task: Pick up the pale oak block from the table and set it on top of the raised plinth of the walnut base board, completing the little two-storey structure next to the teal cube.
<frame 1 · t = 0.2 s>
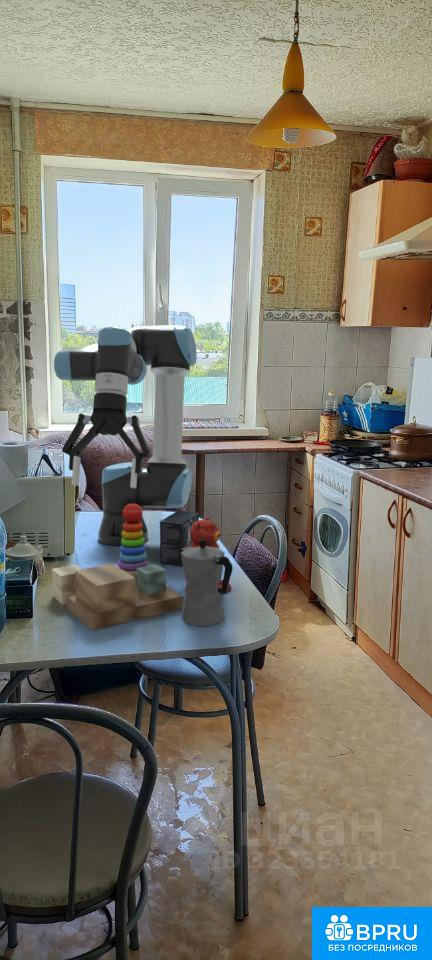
hand: (103, 486, 158), 27 cm above the table, tool tilted 20°, fingers open, 13 cm apart
base: (124, 608, 158), on the table
oak block: (70, 598, 164), on the table
stacking bear: (205, 592, 168), on the table
coffeepot: (206, 620, 151), on the table
small box: (180, 558, 194), on the table
stacking toy: (133, 574, 181), on the table
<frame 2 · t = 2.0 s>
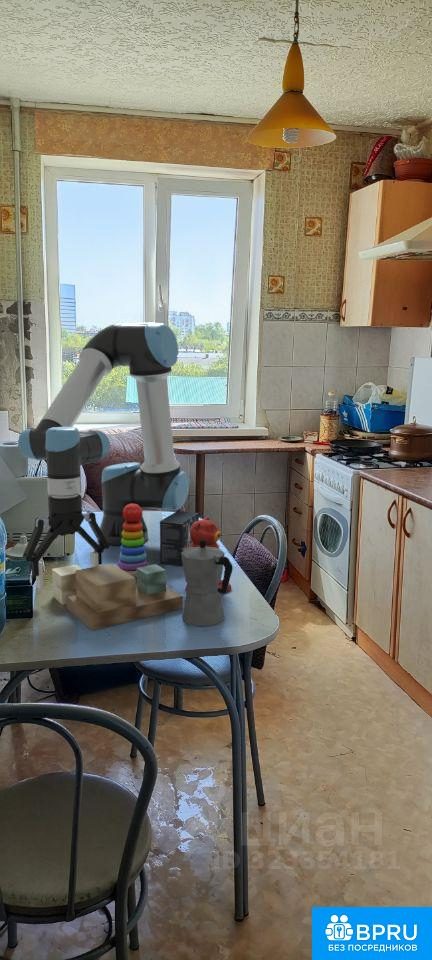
hand: (68, 583, 163), 4 cm above the table, tool pointing down, fingers open, 13 cm apart
nothing on the table moved.
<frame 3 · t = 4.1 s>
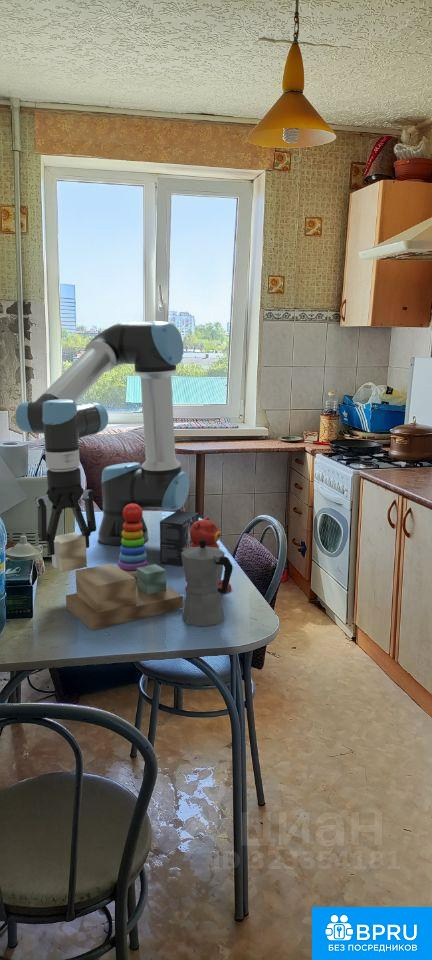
hand: (69, 564, 163), 8 cm above the table, tool pointing down, fingers closed on oak block, 6 cm apart
oak block: (70, 565, 163), point 8 cm above the table, touching gripper
everything else where it was.
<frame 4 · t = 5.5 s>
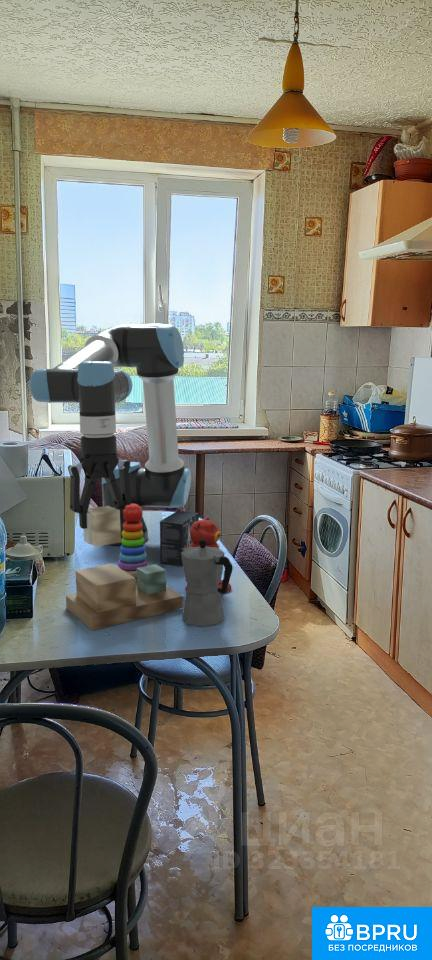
hand: (102, 539, 152), 17 cm above the table, tool pointing down, fingers closed on oak block, 6 cm apart
oak block: (102, 541, 152), point 17 cm above the table, touching gripper
everything else where it was.
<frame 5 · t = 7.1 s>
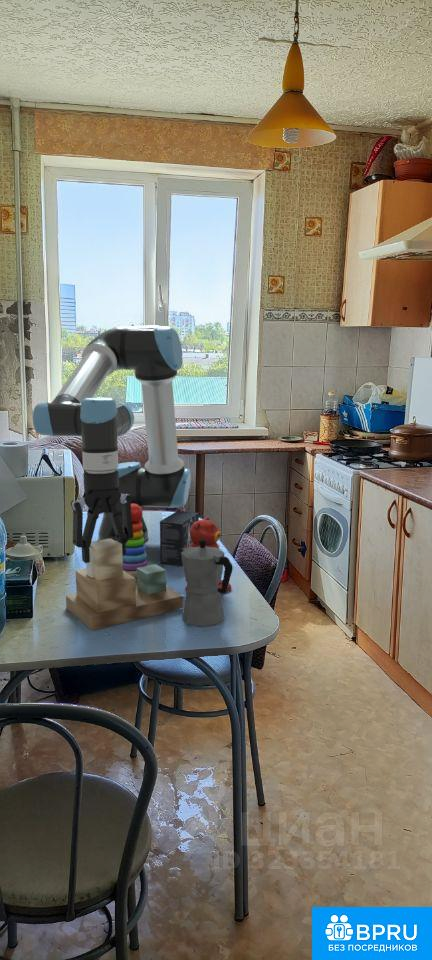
hand: (104, 572, 154), 9 cm above the table, tool pointing down, fingers closed on oak block, 6 cm apart
oak block: (104, 574, 154), point 9 cm above the table, touching base, gripper
everything else where it was.
when the fingers open (9 cm above the table, at t = 7.2 s): oak block stays where it is, resting on base.
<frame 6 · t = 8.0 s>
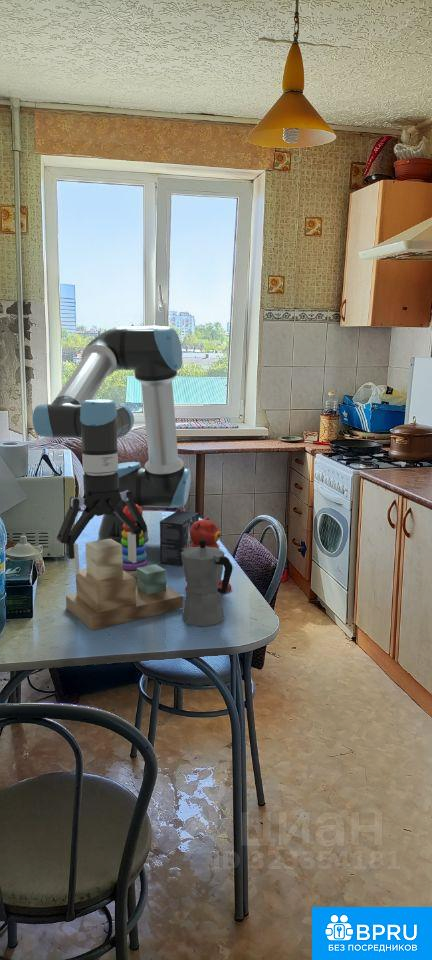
hand: (104, 566, 153), 11 cm above the table, tool pointing down, fingers open, 13 cm apart
oak block: (104, 574, 154), point 9 cm above the table, touching base
everything else where it was.
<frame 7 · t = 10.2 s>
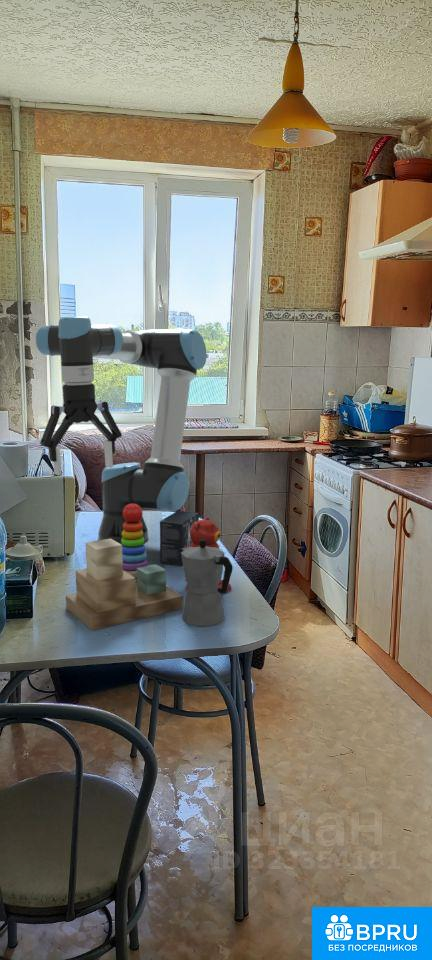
hand: (84, 470, 170), 28 cm above the table, tool pointing down, fingers open, 13 cm apart
nothing on the table moved.
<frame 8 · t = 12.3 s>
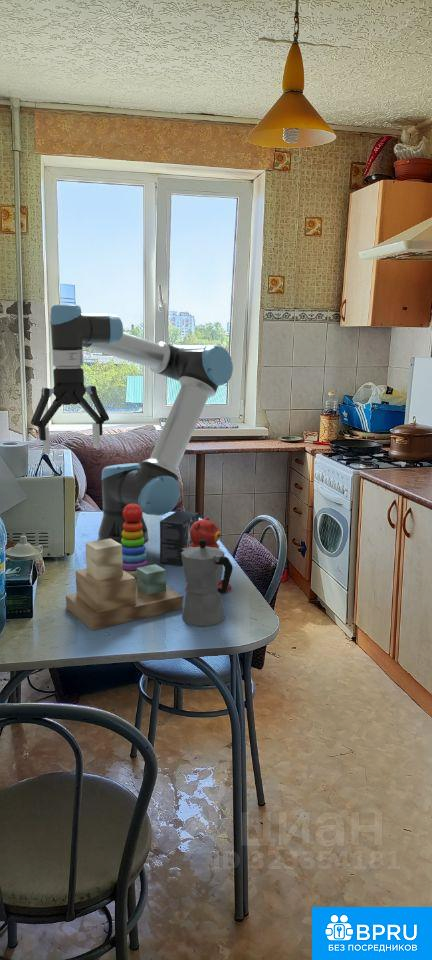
hand: (72, 450, 180), 32 cm above the table, tool pointing down, fingers open, 13 cm apart
nothing on the table moved.
at the end: oak block inside the target area on the base (0.0 cm from its centre), point 9.0 cm above the base's base; oak block tilted 0°; the gripper is holding nothing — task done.
